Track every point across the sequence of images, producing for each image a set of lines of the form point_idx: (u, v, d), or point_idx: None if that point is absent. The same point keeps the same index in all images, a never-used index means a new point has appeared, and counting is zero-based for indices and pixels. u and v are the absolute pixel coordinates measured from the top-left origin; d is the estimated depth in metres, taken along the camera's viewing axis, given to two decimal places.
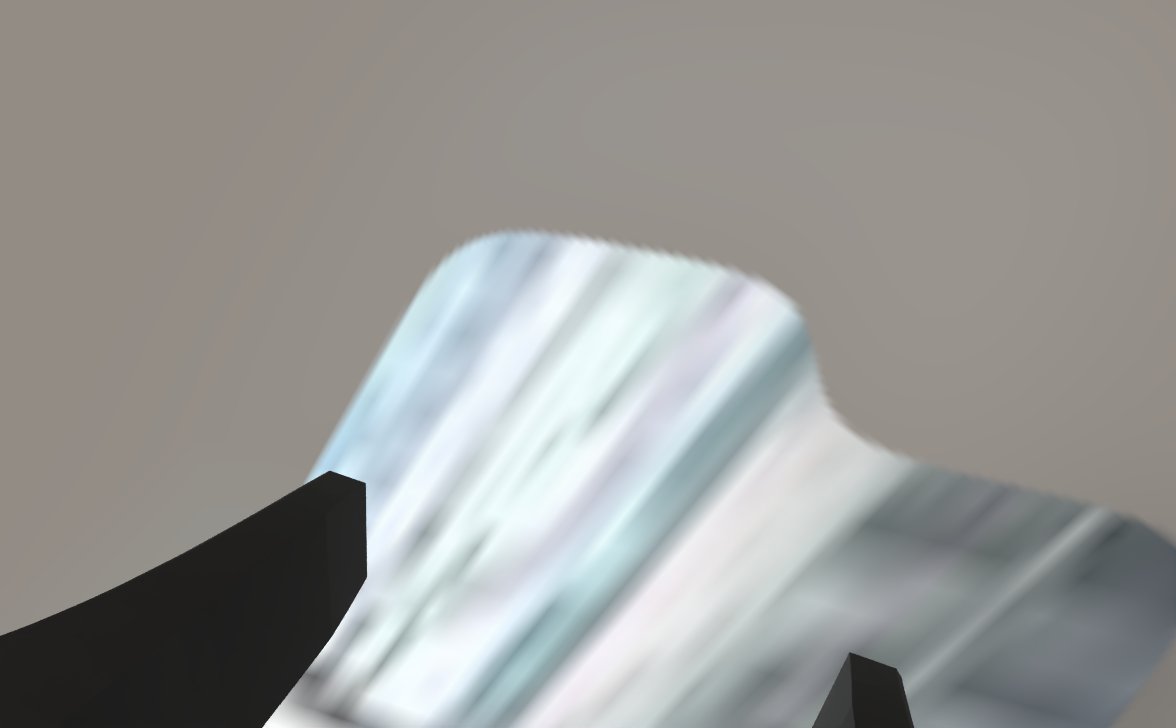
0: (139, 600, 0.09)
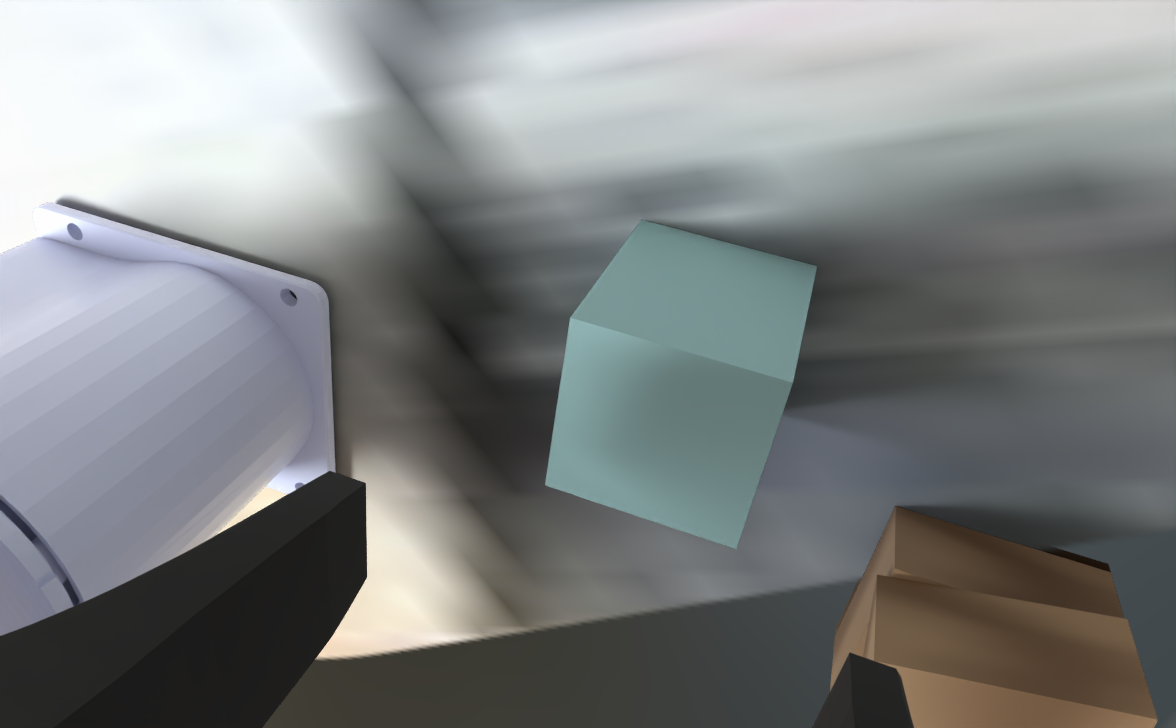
0: (139, 601, 0.09)
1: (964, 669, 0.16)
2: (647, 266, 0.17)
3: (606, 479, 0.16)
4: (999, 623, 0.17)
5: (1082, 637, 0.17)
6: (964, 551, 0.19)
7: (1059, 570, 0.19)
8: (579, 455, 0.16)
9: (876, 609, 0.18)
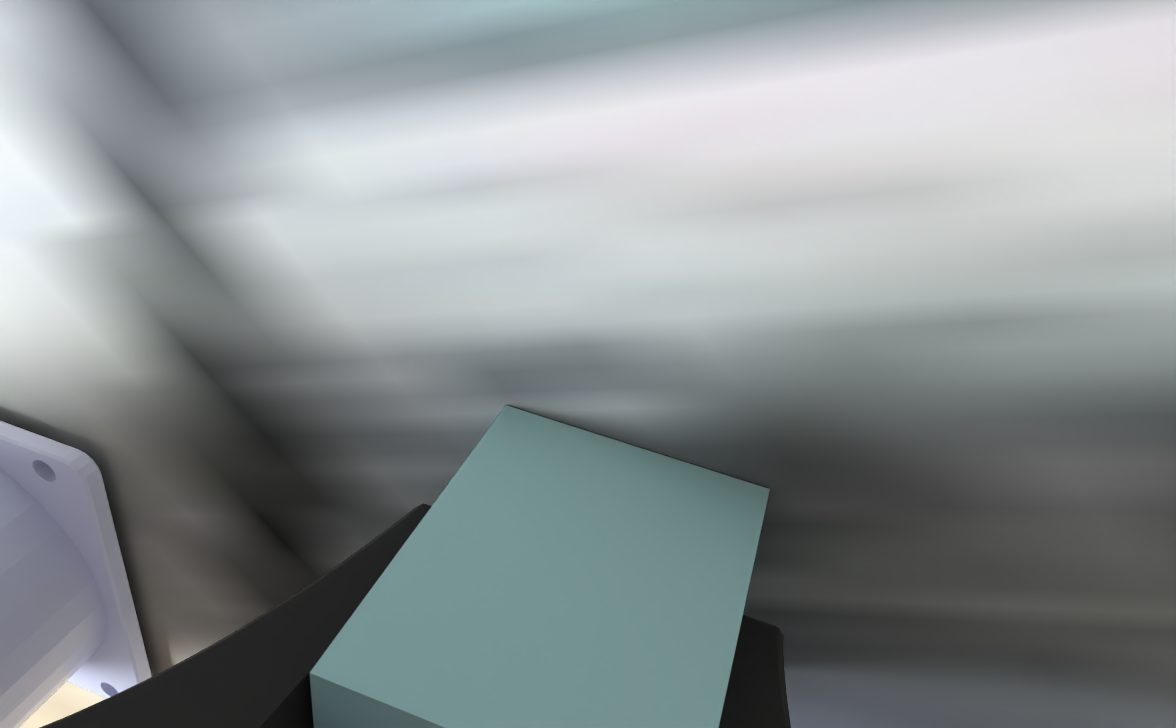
0: (260, 649, 0.09)
1: None
2: (488, 517, 0.10)
3: None
4: None
5: None
6: None
7: None
8: None
9: None
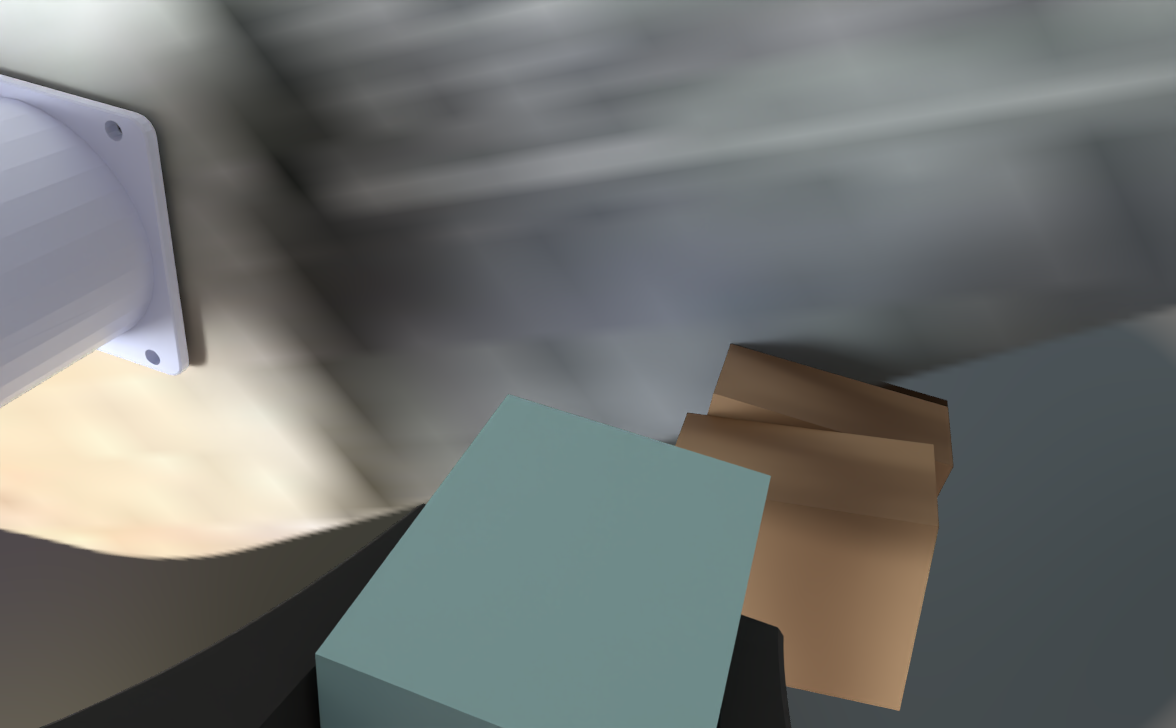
0: (259, 648, 0.09)
1: None
2: (491, 501, 0.10)
3: None
4: (801, 449, 0.17)
5: (882, 460, 0.16)
6: (794, 383, 0.18)
7: (892, 402, 0.18)
8: None
9: (677, 441, 0.17)
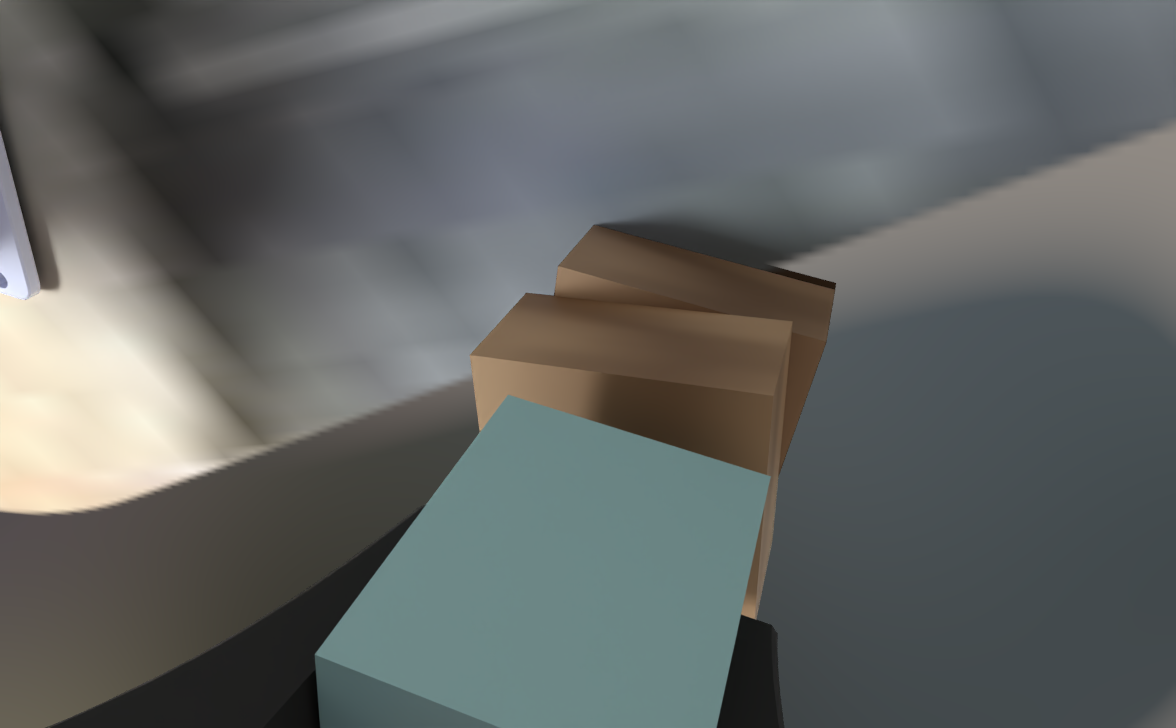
0: (261, 650, 0.09)
1: (571, 360, 0.14)
2: (491, 503, 0.10)
3: None
4: (641, 325, 0.14)
5: (729, 335, 0.14)
6: (658, 261, 0.16)
7: (769, 282, 0.16)
8: None
9: (505, 317, 0.15)
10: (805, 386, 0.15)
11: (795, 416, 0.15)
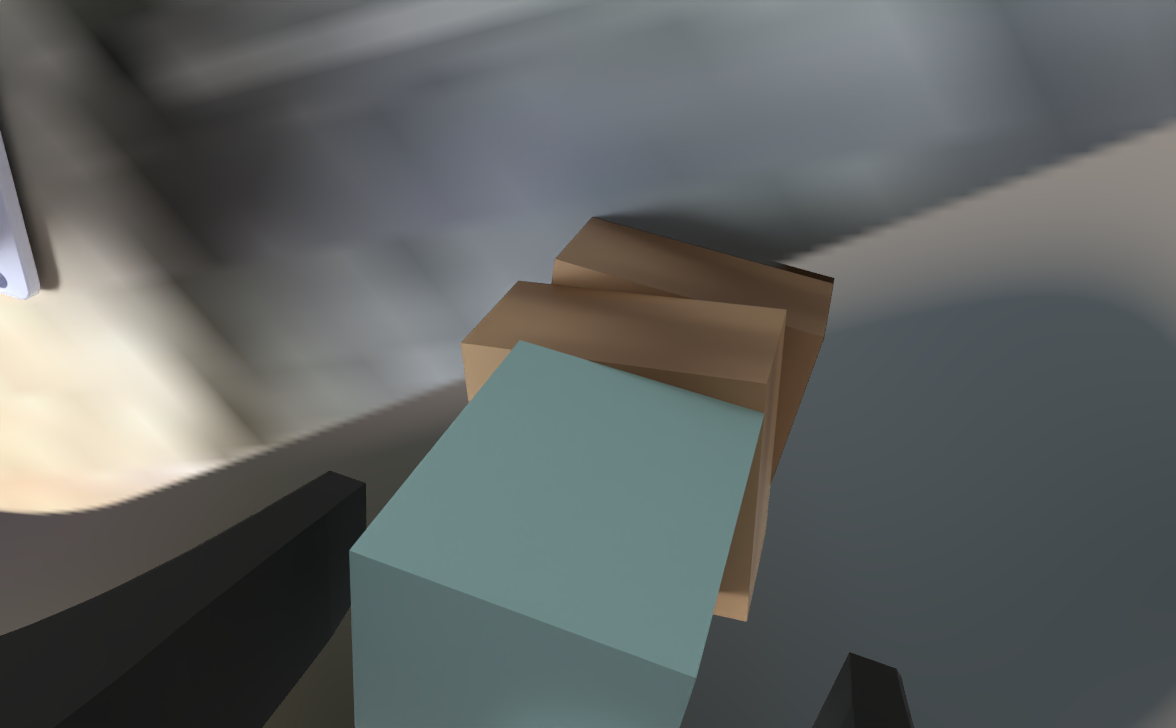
0: (139, 600, 0.09)
1: (563, 347, 0.13)
2: (505, 430, 0.11)
3: None
4: (633, 313, 0.14)
5: (722, 323, 0.14)
6: (655, 254, 0.16)
7: (768, 277, 0.16)
8: (395, 725, 0.11)
9: (497, 305, 0.15)
10: (803, 381, 0.15)
11: (792, 411, 0.15)
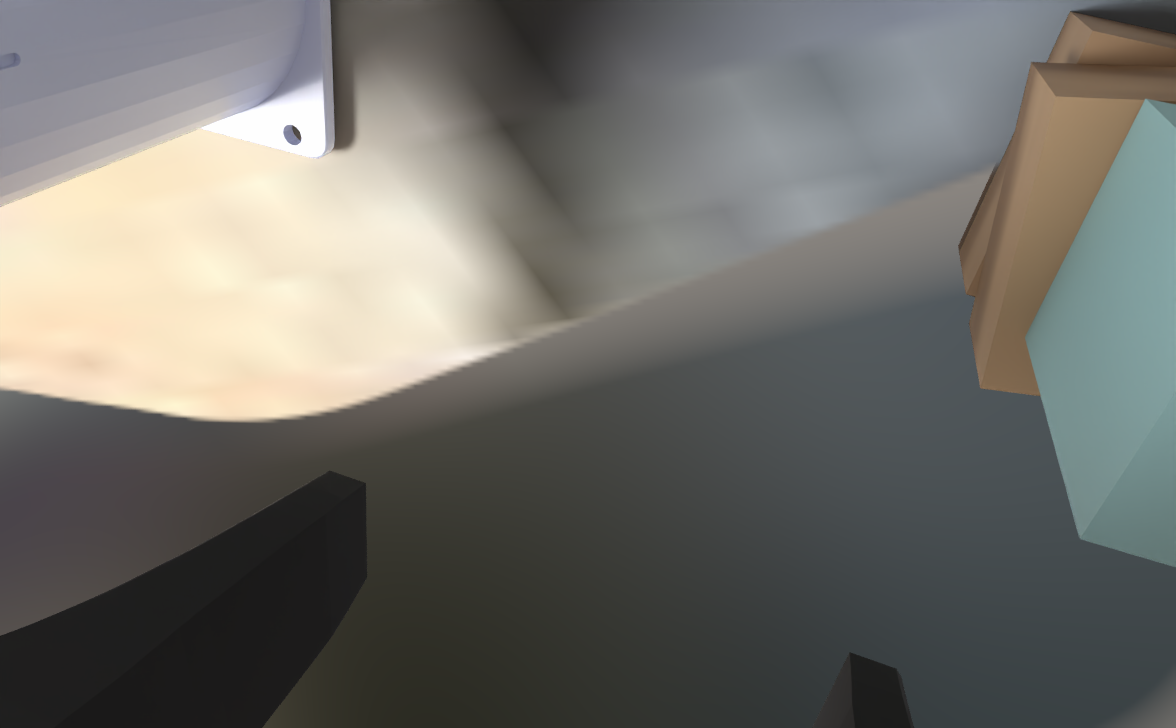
0: (139, 600, 0.09)
1: None
2: None
3: None
4: None
5: None
6: (1173, 39, 0.14)
7: None
8: None
9: (1042, 75, 0.13)
10: None
11: None
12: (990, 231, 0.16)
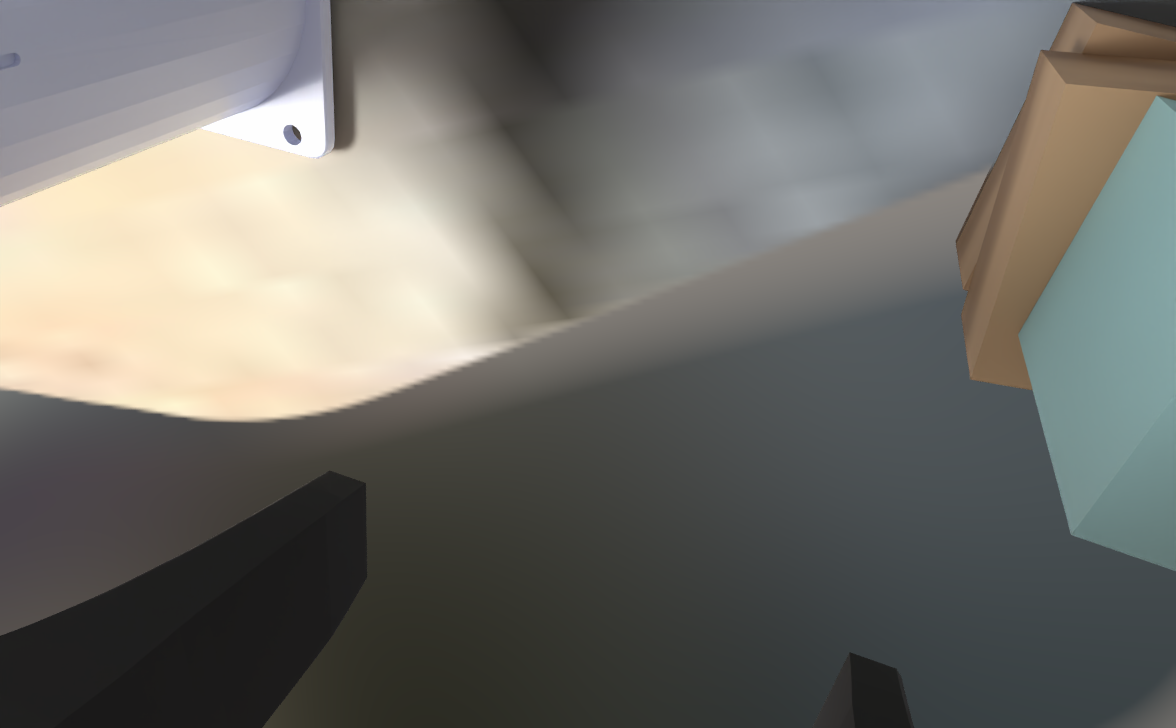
0: (139, 600, 0.09)
1: None
2: None
3: None
4: None
5: None
6: None
7: None
8: None
9: (1051, 63, 0.13)
10: None
11: None
12: None
